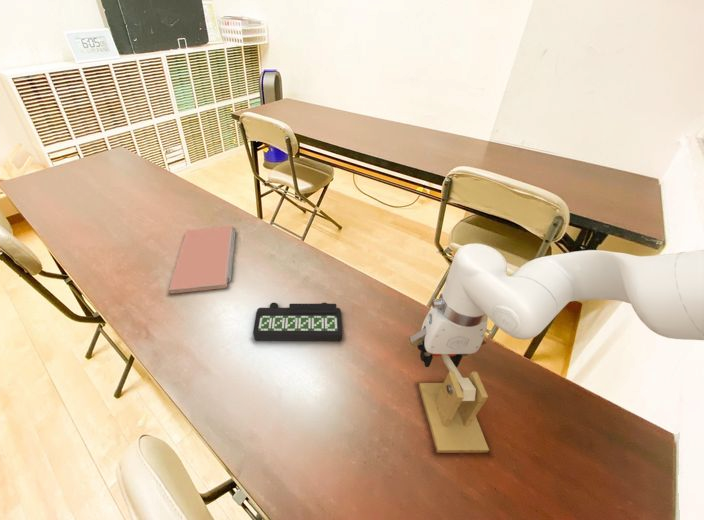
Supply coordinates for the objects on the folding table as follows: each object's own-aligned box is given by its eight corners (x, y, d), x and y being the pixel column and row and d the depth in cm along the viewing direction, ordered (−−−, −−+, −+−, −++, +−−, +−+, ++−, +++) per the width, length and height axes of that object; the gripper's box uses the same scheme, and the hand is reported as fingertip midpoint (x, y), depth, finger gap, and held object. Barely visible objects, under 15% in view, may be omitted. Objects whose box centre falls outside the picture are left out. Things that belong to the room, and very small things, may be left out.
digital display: (339, 299, 83) (342, 334, 75) (339, 307, 85) (342, 342, 77) (258, 299, 83) (252, 334, 76) (259, 307, 85) (254, 341, 78)
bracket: (418, 385, 68) (430, 352, 60) (461, 385, 68) (479, 351, 60) (436, 452, 58) (454, 422, 51) (487, 452, 58) (512, 422, 50)
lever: (428, 355, 67) (429, 345, 66) (452, 355, 67) (453, 345, 66) (453, 401, 55) (454, 389, 55) (483, 401, 55) (484, 389, 55)
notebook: (230, 287, 91) (229, 283, 90) (170, 294, 90) (168, 289, 89) (236, 229, 113) (235, 224, 112) (187, 233, 112) (186, 229, 111)
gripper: (419, 324, 54) (402, 378, 65) (521, 323, 54) (487, 378, 65) (408, 289, 60) (394, 344, 71) (500, 288, 60) (472, 344, 71)
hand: (439, 360), depth 68 cm, fingers closed on lever, 5 cm apart
